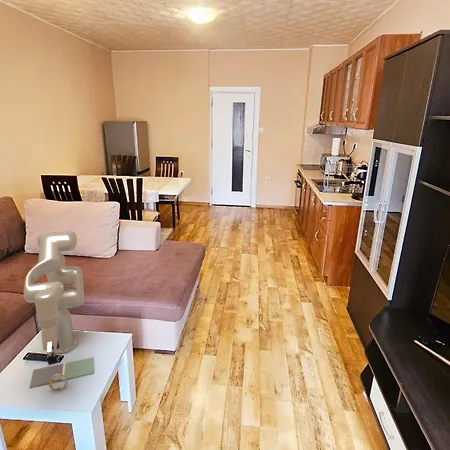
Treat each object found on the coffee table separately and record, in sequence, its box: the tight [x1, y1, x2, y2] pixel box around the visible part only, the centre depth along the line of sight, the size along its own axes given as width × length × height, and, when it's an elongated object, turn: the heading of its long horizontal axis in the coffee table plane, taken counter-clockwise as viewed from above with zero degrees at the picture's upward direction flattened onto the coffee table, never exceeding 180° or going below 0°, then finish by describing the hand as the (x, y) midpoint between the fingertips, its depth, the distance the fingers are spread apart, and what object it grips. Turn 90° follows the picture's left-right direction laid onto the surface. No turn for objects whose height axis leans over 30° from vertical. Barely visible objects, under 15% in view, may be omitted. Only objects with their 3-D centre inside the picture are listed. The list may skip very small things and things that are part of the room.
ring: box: [48, 374, 68, 392], centre depth 140 cm, size 7×3×8 cm, turn 106°
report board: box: [29, 357, 95, 389], centre depth 151 cm, size 11×26×1 cm, turn 111°
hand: (54, 356), depth 135 cm, fingers open, 9 cm apart
